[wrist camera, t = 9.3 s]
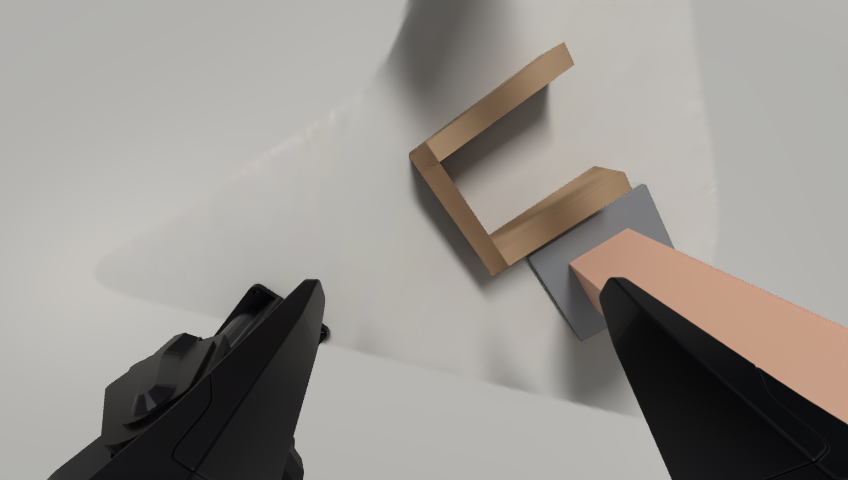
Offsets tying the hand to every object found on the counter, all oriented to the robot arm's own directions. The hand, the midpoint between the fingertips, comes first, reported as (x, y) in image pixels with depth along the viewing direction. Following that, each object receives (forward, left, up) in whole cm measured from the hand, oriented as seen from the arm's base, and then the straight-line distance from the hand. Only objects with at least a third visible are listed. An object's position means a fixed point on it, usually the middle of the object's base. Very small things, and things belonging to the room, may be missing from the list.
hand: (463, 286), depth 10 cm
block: (+5, -13, -11) cm, 18 cm away
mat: (+5, -13, -12) cm, 18 cm away
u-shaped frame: (+5, -2, -12) cm, 13 cm away
